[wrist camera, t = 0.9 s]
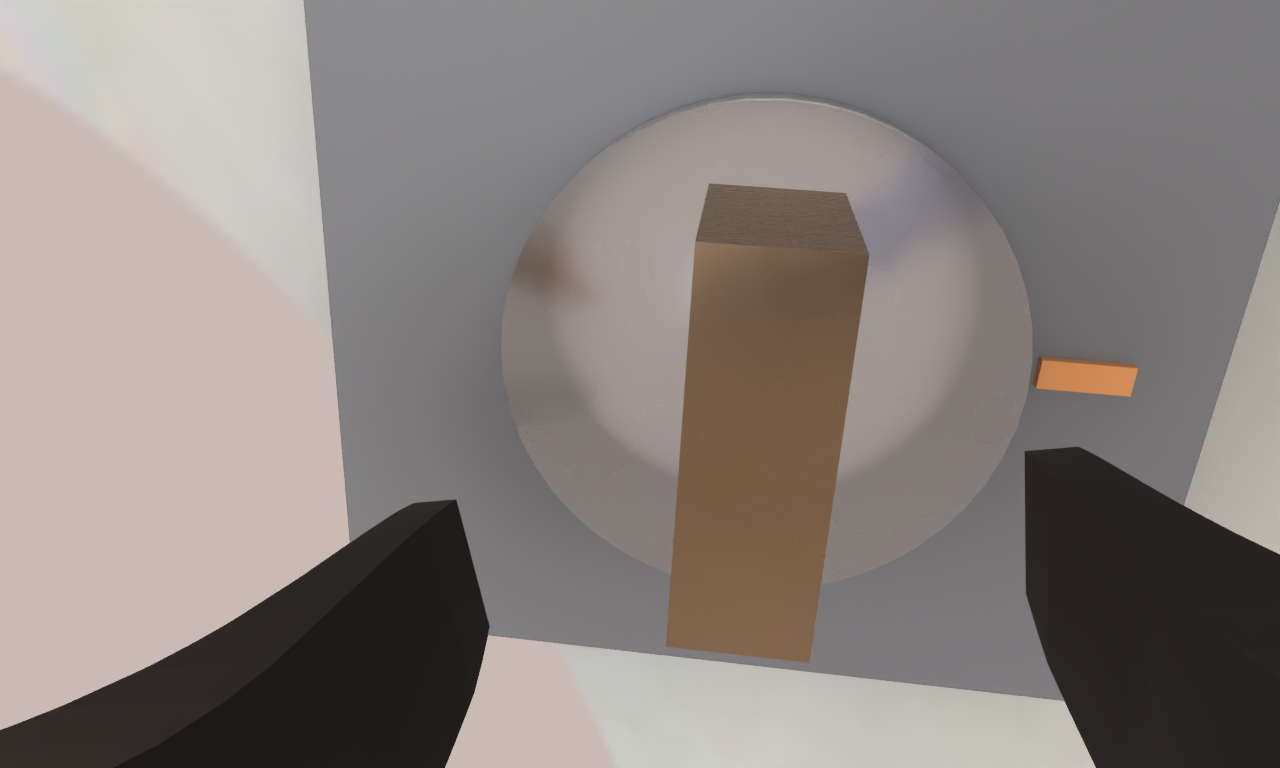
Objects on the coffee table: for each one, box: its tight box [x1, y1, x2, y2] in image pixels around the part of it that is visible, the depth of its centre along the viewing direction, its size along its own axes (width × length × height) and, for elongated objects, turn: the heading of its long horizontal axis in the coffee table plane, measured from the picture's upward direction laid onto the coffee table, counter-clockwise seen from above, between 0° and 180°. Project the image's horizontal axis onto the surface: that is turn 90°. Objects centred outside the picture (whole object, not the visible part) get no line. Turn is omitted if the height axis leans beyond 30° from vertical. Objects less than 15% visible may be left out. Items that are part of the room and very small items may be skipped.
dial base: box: [304, 0, 1280, 701], centre depth 20 cm, size 18×16×2 cm
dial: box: [501, 93, 1033, 663], centre depth 17 cm, size 10×10×5 cm
